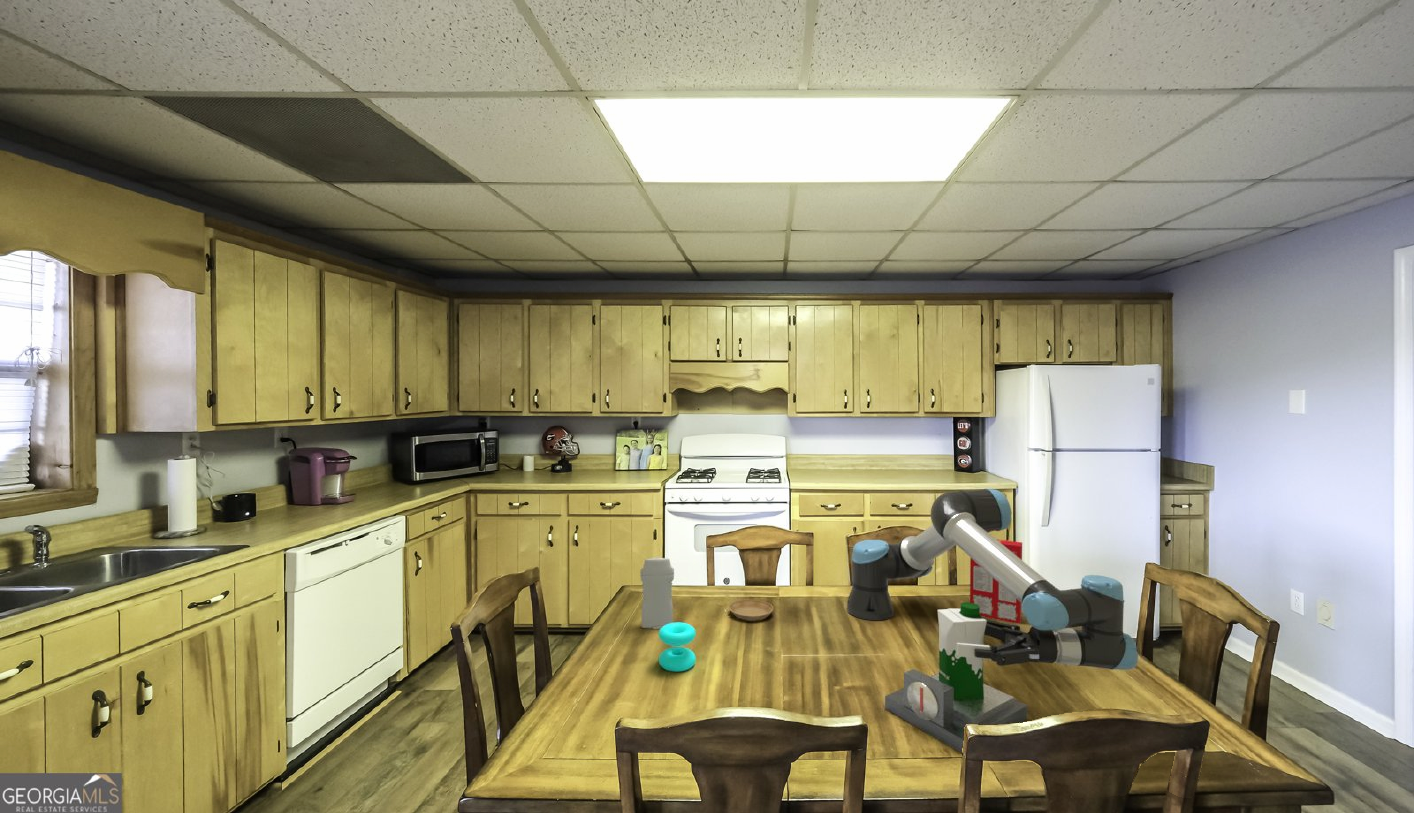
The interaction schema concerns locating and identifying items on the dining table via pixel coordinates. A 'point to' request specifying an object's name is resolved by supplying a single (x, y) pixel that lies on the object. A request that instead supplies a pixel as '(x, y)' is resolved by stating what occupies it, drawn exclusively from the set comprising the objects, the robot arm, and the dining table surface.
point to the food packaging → (995, 591)
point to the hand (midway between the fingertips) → (950, 636)
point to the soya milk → (952, 668)
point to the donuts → (677, 656)
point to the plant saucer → (751, 609)
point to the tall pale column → (657, 593)
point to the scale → (950, 708)
